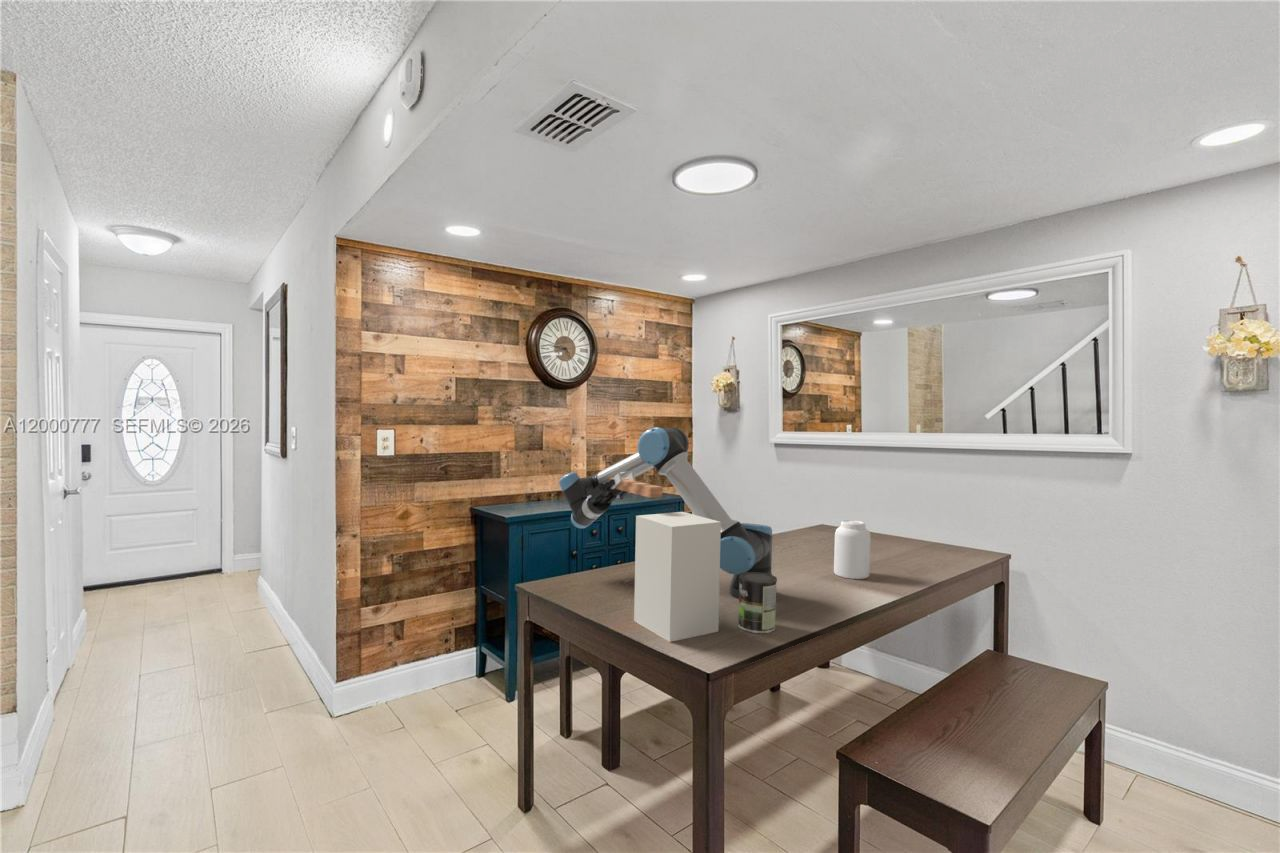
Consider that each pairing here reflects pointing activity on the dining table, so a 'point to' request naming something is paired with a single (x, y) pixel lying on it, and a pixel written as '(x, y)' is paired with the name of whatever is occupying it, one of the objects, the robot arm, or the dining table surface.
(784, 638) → the dining table surface
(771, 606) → the coffee can
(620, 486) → the bar
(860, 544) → the white jar
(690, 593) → the pedestal
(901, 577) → the dining table surface
